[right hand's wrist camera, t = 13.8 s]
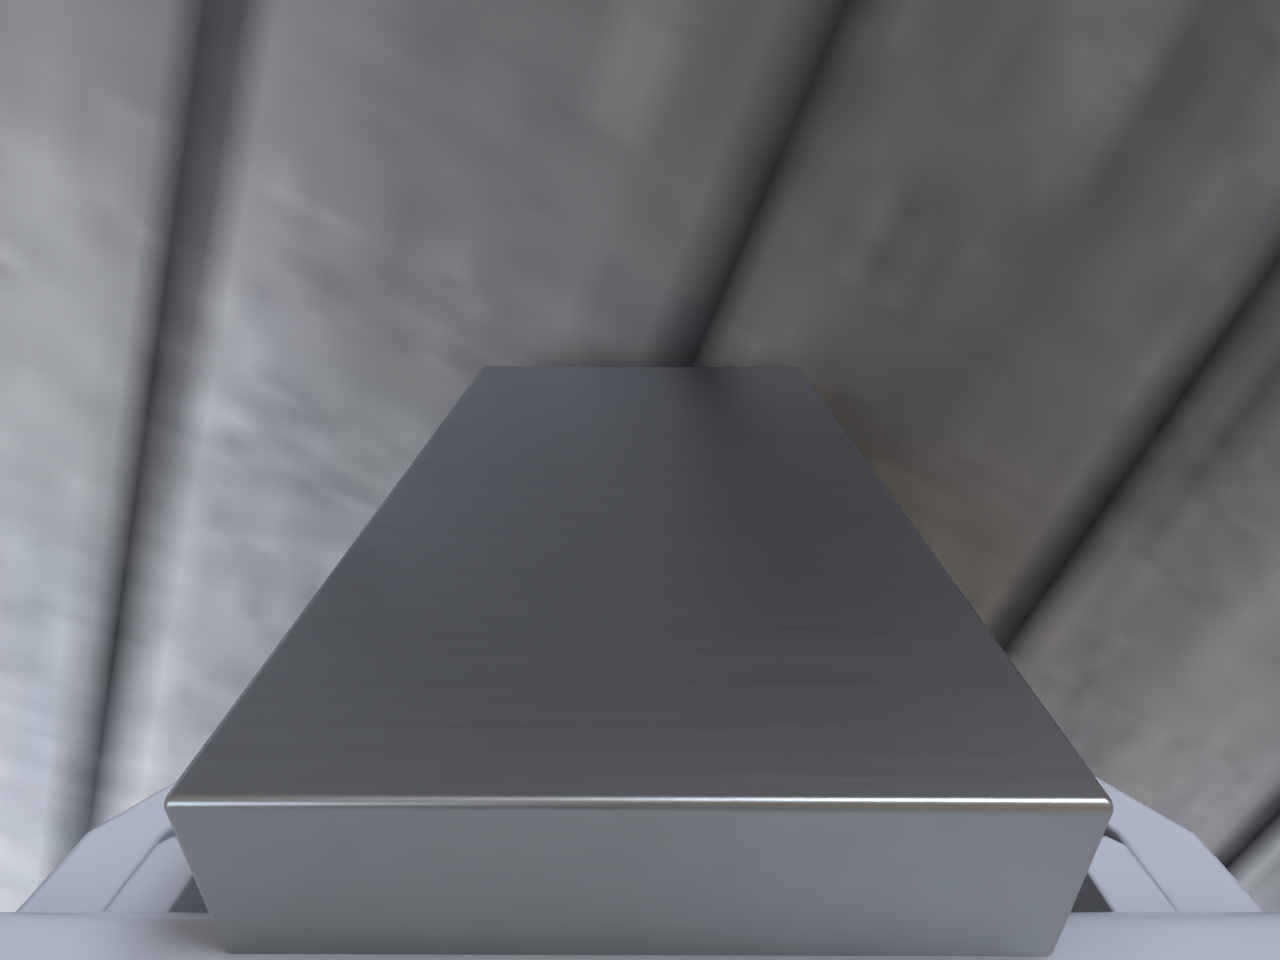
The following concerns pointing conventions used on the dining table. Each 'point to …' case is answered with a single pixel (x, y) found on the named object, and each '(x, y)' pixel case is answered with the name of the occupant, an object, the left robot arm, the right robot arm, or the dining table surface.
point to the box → (639, 705)
